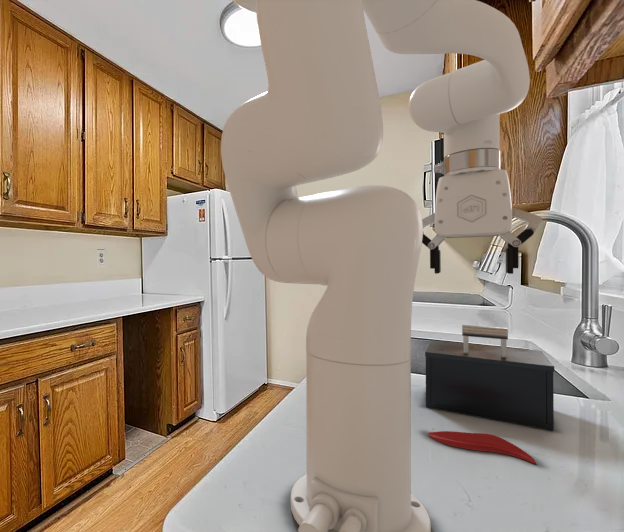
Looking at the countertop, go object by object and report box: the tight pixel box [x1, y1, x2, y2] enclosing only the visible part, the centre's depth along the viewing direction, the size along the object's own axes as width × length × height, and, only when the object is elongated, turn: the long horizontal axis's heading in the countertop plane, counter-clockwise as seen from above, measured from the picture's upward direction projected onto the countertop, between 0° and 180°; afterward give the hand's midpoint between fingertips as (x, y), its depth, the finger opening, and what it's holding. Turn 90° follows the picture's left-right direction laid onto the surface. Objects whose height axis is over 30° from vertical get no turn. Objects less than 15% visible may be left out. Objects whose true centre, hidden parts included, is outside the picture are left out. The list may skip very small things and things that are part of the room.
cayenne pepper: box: [427, 430, 537, 465], centre depth 49 cm, size 12×5×2 cm, turn 43°
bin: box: [425, 357, 555, 431], centre depth 64 cm, size 12×17×9 cm
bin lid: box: [424, 324, 555, 373], centre depth 64 cm, size 12×17×6 cm
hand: (471, 273), depth 60 cm, fingers open, 9 cm apart
